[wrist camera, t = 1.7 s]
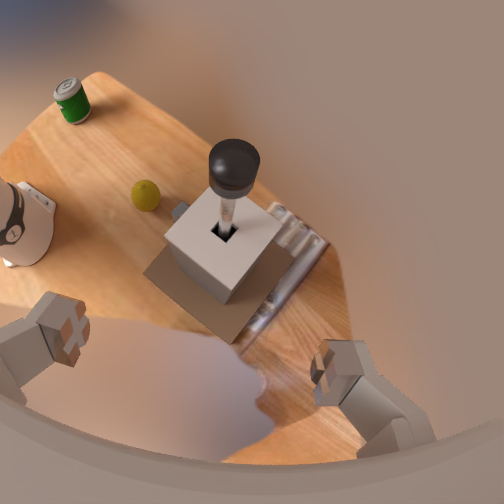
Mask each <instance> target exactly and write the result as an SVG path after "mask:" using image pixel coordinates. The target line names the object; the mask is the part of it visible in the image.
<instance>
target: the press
mask: <svg viewBox="0 0 504 504" xmlns="http://www.w3.org/2000/svg"><path fill="white" fill-rule="evenodd" d="M220 204H221V197H220V196H218V195H217V194H216V193H214V191H213V190H212V189H211V187H210V186H209V187H208V188H207V189H206V191H205V192H204V193H203V194H202V195H201V196H200V197H199V198H198V199H197V200H196V201H195V202H194V203H193V204H192V205H191V206H189V205H188V204H187V203H185V202H184V201H183V200H182V201H181V202H180V203H179V204H178V205H177V206H176V207H175V209H174V210H173V211H172V212H171V215H172V218H173V221H174V225H173V226H172V227H171V228H170V229H169V230H168V231H167V233H166V234H165V235H164V236H165V238H166V240H167V242H168V245H167V246H166V247H165V248H164V249H163V251H162V252H161V253H160V254H159V255H158V256H157V258H156V259H155V260H154V261H153V262H152V263H151V265H150V266H149V267H148V268H147V269H146V271H145V272H144V273H143V274H144V275H145V276H146V277H147V278H148V279H150V280H151V281H152V282H153V283H154V284H155V285H156V286H157V287H159V288H160V289H161V290H162V291H163V292H164V293H166V294H167V295H168V296H169V297H170V298H171V299H173V300H174V301H175V302H176V303H177V304H179V305H180V306H181V307H182V308H183V309H185V310H186V311H187V312H188V313H190V314H191V315H192V316H193V317H195V318H196V319H197V320H198V321H200V322H201V323H202V324H203V325H205V326H206V327H207V328H208V329H210V330H211V331H212V332H214V333H215V334H216V335H217V336H219V337H220V338H221V339H223V340H224V341H225V342H227V343H228V344H229V345H230V344H231V343H232V342H233V340H234V339H235V338H236V337H237V335H238V334H239V333H240V331H241V330H242V329H243V328H244V326H245V325H246V324H247V322H248V321H249V320H250V318H251V317H252V316H253V314H254V313H255V312H256V311H257V309H258V308H259V307H260V305H261V304H262V303H263V301H264V300H265V299H266V297H267V296H268V295H269V293H270V292H271V291H272V289H273V288H274V286H275V285H276V284H277V282H278V281H279V280H280V278H281V277H282V276H283V274H284V273H285V272H286V270H287V269H288V267H289V266H290V265H291V263H292V262H293V261H294V259H295V258H294V257H293V256H292V255H290V254H289V253H288V252H287V251H285V250H284V249H283V248H281V247H280V246H279V245H277V244H276V243H275V242H274V241H273V239H274V238H275V236H276V235H277V233H278V232H279V230H280V229H281V227H282V226H283V224H282V223H281V222H279V221H278V220H277V219H275V218H274V217H273V216H271V215H270V214H269V213H267V212H266V211H265V210H263V209H262V208H261V207H259V206H258V205H257V204H255V203H254V202H253V201H251V200H250V199H249V198H247V197H246V196H244V197H242V198H239V199H236V204H235V209H234V214H233V220H232V225H231V227H232V228H234V229H235V230H236V232H235V233H234V234H233V236H232V237H231V238H230V239H229V240H228V242H227V243H225V242H224V241H223V240H221V239H220V238H219V237H218V236H216V235H215V234H214V233H212V231H213V229H214V228H215V227H216V226H217V225H218V224H219V216H220Z"/></svg>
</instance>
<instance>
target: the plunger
mask: <svg viewBox="0 0 504 504" xmlns="http://www.w3.org/2000/svg"><path fill="white" fill-rule="evenodd" d="M259 164H260V157H259V154H258V152H257V150H256V149H255V147H254V146H252V145H251V144H250V143H248V142H246V141H243V140H240V139H227V140H224V141H221V142H219V143H218V144H216V145H215V146H214V147H213V148H212V150H211V152H210V154H209V184H210V187H211V189H212V190H213V191H214V193H216V194H217V195H218V196H220V197H221V204H220V216H219V224H218V225H217V226H216V227H215V228H214V229H213V231H212V233H214V234H215V235H216V236H218V237H219V238H220V239H221V240H223V241H224V242H225V243H227V242H228V240H229V239H230V238H231V237H232V236H233V234H234V233H235V232H236V230H235V229H234V228H232V227H231V225H232V220H233V214H234V209H235V204H236V199H239V198H242V197H244V196H246V195H247V194H248V193H249V192H250V191H251V189H252V188H253V185H254V181H255V178H256V174H257V171H258V168H259Z"/></svg>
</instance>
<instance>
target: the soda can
mask: <svg viewBox="0 0 504 504" xmlns="http://www.w3.org/2000/svg"><path fill="white" fill-rule="evenodd" d="M54 98H55V100H56V102H57V104H58V106H59V108H60V110H61V112H62V114H63V115H64V117H65V119H66V121H67V122H68V123H69V124H79V123H81V122H83V121H84V120H85V119H86V118H87V117H88V115H89V114H90V112H91V106H90V104H89V101H88V99H87V96H86V94H85V91H84V89H83V86H82V84H81V81H80V80H79V79H76V78H68V79H66V80H64V81H62V82H61V83H60V84H59V85H58V86H57V87H56V90H55V92H54Z"/></svg>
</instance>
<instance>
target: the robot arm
mask: <svg viewBox="0 0 504 504" xmlns="http://www.w3.org/2000/svg"><path fill="white" fill-rule="evenodd" d="M48 203H49V204H48ZM47 204H48V205H47ZM55 209H56V203H55V202H54V201H52V200H51V199H49V198H48V197H46V196H45V195H43V194H42V193H40V192H39V191H37V190H36V189H34V188H33V187H31V186H30V185H28V184H27V183H26V182H24V181H22V182H20V183H18V184H17V185H16V184H15V183H13V182H10V183H7V182H5V181H4V180H3V179H2V178H1V177H0V257H2V258H3V260H4V263H5V265H6V266H7V267H9V268H11V267H14V266H16V265H20V266H29V265H32V264H34V263H36V262H37V261H38V260H39V259H40V258H41V257H42V256H43V255H44V254H45V252H46V251H47V249H48V247H49V245H50V242H51V239H52V236H53V228H54V224H53V216H54V212H55ZM85 311H86V306H85V302H83V301H81V300H78V299H74V298H71V297H68V296H64V295H61V294H57V293H54V292H51V291H48V292H46V293H45V294H44V295H43V296H42V297H41V299H40V300H39V301H38V302H37V304H36V305H35V306H34V308H33V309H32V310H31V311H30V313H29V314H28V316H27V317H26V318H25V319H23V318H21V319H18V320H16V321H14V322H12V323H10V324H8V325H6V326H4V327H2V328H0V504H504V419H502V418H495V419H493V420H490V421H488V422H486V423H484V424H481V425H479V426H477V427H474V428H472V429H469V430H466V431H464V432H461V433H458V434H456V435H453V436H450V437H447V438H444V439H441V440H438V441H437V440H436V437H435V435H434V432H433V429H432V427H431V424H430V421H429V419H428V417H427V414H426V412H425V411H424V410H422V409H421V408H420V407H419V406H418V405H416V404H415V403H414V402H413V401H412V400H411V399H409V398H408V397H407V396H406V395H405V394H403V393H402V392H401V391H400V390H399V389H398V388H397V387H395V386H394V385H393V384H392V383H391V382H390V381H388V380H387V379H386V378H385V377H383V375H378V372H377V370H376V367H375V365H374V362H373V359H372V357H371V354H370V352H369V350H368V347H367V345H366V343H365V342H364V341H360V340H334V339H324V340H323V341H322V342H321V343H320V345H319V349H320V352H319V353H317V354H316V355H314V358H313V360H312V362H311V368H310V375H311V381H312V382H313V383H314V384H315V385H316V387H315V389H314V390H313V392H314V397H315V402H316V406H339V407H338V408H339V409H340V410H341V411H342V412H343V414H344V415H345V416H346V417H347V419H348V420H349V421H350V422H351V423H352V425H353V426H354V427H355V428H356V429H357V431H358V432H359V433H360V434H361V436H362V437H363V438H364V439H365V440H366V441H367V443H366V444H365V445H364V446H363V447H362V448H360V449H359V450H358V451H357V453H356V455H357V459H354V460H346V461H338V462H328V463H316V464H298V465H252V464H234V463H222V462H212V461H204V460H195V459H189V458H183V457H177V456H171V455H166V454H161V453H156V452H152V451H147V450H143V449H139V448H134V447H131V446H127V445H124V444H120V443H116V442H113V441H110V440H107V439H103V438H100V437H97V436H94V435H91V434H89V433H86V432H83V431H80V430H78V429H75V428H72V427H70V426H67V425H65V424H62V423H60V422H58V421H55V420H53V419H51V418H49V417H46V416H44V415H42V414H40V413H38V412H35V411H34V410H32V409H29V408H28V407H25V405H26V403H27V398H26V396H25V395H24V393H23V392H22V390H21V389H20V388H21V387H22V386H23V385H25V384H26V383H27V382H29V381H30V380H31V379H33V378H34V377H35V376H37V375H38V374H39V373H41V372H42V371H43V370H45V369H46V368H47V367H49V366H50V365H52V364H53V363H54V361H55V362H58V363H61V364H64V365H67V366H70V367H74V366H75V364H76V362H77V360H78V358H79V356H80V350H79V348H80V347H82V346H84V345H85V344H86V342H87V340H88V338H89V333H90V323H89V319H88V318H87V317H86V316H85V315H84V313H85Z"/></svg>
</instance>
